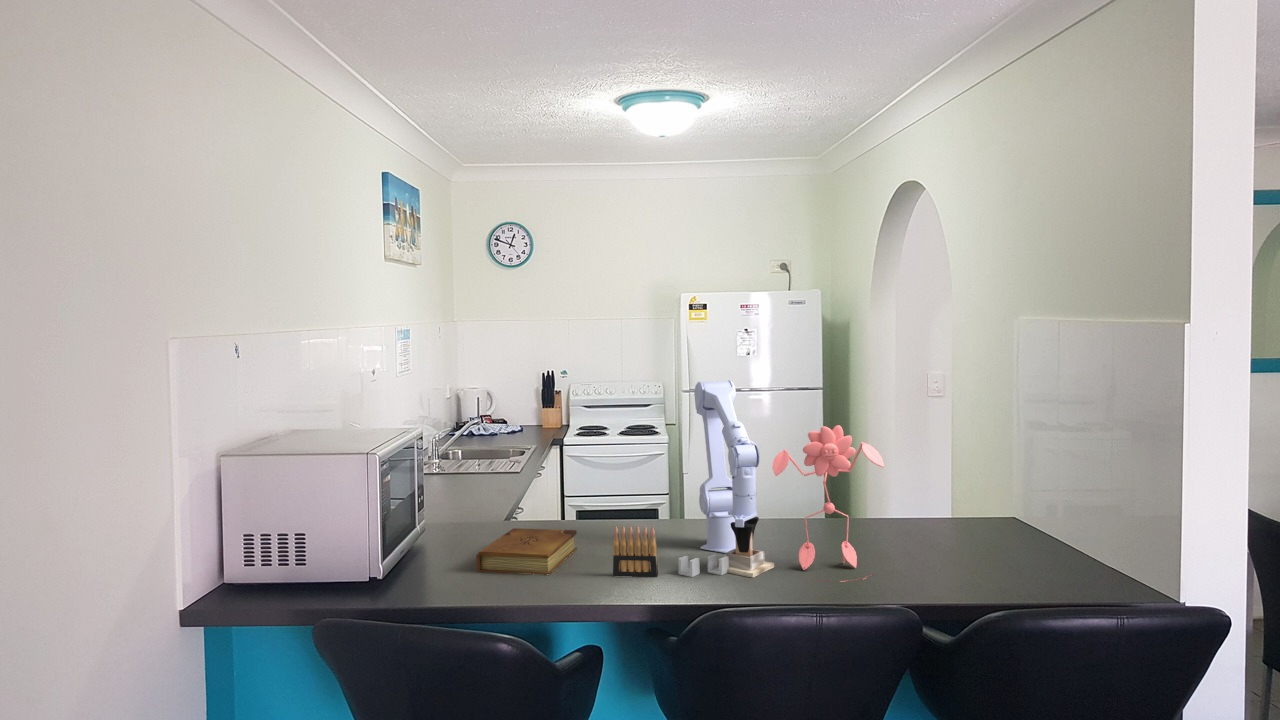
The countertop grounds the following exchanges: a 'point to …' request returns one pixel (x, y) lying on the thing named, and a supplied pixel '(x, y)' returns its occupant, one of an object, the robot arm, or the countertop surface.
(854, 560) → the figurine
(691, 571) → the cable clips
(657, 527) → the countertop surface
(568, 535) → the diary
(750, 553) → the orange rectangular block
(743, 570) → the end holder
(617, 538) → the ammunition clip
